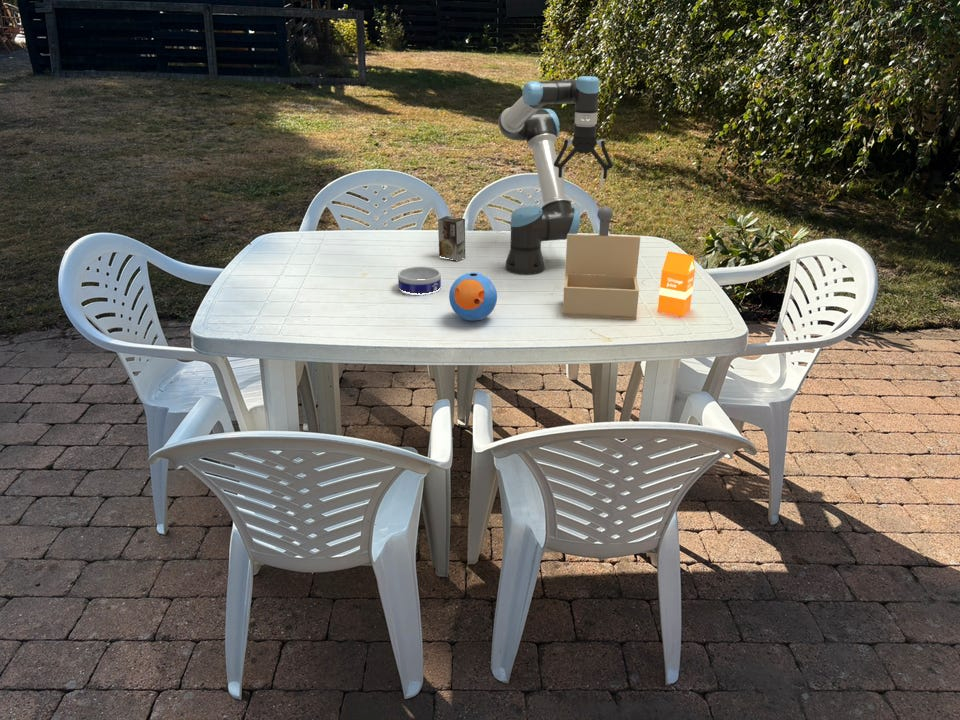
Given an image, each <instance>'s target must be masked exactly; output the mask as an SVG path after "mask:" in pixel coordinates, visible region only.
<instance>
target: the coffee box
mask: <svg viewBox="0 0 960 720" xmlns="http://www.w3.org/2000/svg"><path fill="white" fill-rule="evenodd" d="M437 227H438V229H437V230H438V231H437V233H438V256H441V257H445V258H449V259H453V260H457V261H458V260H460V259H462V258H464V259H466V218H461V217H455V216H448V215H446V216H443V217H441V218H439V219H437ZM462 260H463V259H462ZM460 261H461V260H460ZM458 262H459V261H458Z"/></svg>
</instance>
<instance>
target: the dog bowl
mask: <svg viewBox="0 0 960 720" xmlns="http://www.w3.org/2000/svg"><path fill="white" fill-rule="evenodd" d="M441 275H442V273H441V271H440V270H439V269H437V268H434V267H430V266H410V267H406V268H403V269H401V270H399V271H398V273H397V279H398V280H397V282H398V289H399V288H400V289H401V290H403V291H406V292H410V293H417V294H418V293H420V294H422V293H429V292H433V291H436V290H438V289H439V288H440V287H441V286H442V285H441V283H442V281H441V280H442V276H441ZM417 279H425V280H417ZM440 289H441V288H440Z"/></svg>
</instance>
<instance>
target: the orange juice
mask: <svg viewBox="0 0 960 720" xmlns="http://www.w3.org/2000/svg"><path fill="white" fill-rule="evenodd" d="M695 265H696V264H695V258H694V255H691V254H685V253H681V252H673V251H669V250H668V251H667V253H666V256H665V260H664V263H663V266H662V270H661V276H660V284H659V286H660V287H659V293H658V295H659V296H658V304H657V312H659V313H664V314H668V315H671V316H676V317H684V316H685V315H686V314H687V313H688V312H689V311H690V310H691V305H692V296H693V290H694V281H695V279H694V278H695V273H696V267H695Z"/></svg>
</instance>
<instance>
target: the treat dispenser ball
mask: <svg viewBox="0 0 960 720" xmlns="http://www.w3.org/2000/svg"><path fill="white" fill-rule="evenodd" d="M448 294H449V296H448V299H449V304H450V307H451V308H452V309H451V310H452V311H453V312H454V313H455V314H456V316H459V318H461V319H463V320H465V321H470V322H472V321H473V322H476V321H481V320H483V319H485V318H487V317H488V316H489V315H491V314H492V312H493V311H494V309H495V307H496V305H497V301H498V291H497V288H496V286H495V284H494V283H493V281H492V280H491V279H490V278H489V277H488V276H487V275H484V274H482V273H479V272H467V273H465V274H462V275H460V276H459V277H458V278H456V279H455V280H454V282H453V283H452V285H451V286H450V289H449V293H448Z"/></svg>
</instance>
